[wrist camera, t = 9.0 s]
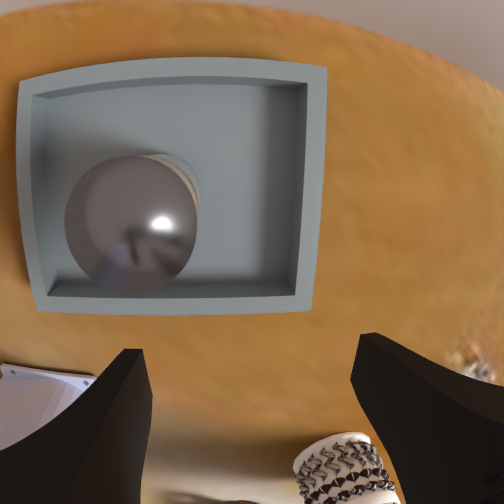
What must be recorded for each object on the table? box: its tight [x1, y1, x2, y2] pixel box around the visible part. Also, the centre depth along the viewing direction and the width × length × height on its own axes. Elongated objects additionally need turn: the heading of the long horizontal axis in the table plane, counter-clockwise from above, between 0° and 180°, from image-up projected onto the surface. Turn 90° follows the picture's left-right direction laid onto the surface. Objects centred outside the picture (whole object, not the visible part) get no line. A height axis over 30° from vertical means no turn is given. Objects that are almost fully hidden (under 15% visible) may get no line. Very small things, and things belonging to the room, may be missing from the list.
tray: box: [16, 57, 327, 315], centre depth 15 cm, size 16×13×2 cm
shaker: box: [64, 154, 200, 293], centre depth 12 cm, size 4×4×8 cm
